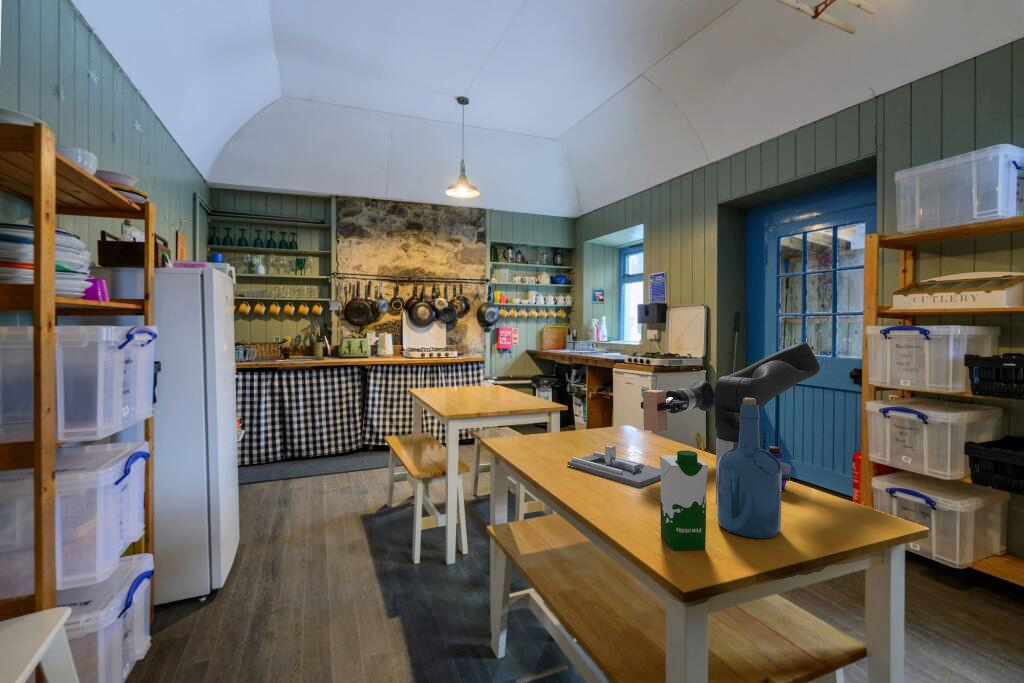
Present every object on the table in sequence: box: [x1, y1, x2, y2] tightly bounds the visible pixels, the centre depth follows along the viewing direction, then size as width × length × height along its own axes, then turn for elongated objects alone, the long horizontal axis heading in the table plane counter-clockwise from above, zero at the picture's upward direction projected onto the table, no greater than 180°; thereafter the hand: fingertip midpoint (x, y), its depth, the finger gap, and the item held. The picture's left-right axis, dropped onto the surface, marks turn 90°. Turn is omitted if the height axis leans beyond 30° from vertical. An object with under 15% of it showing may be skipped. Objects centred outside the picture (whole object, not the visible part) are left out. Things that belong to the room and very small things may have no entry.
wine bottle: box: [716, 398, 782, 539], centre depth 110 cm, size 14×13×30 cm
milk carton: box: [659, 450, 709, 551], centre depth 103 cm, size 9×9×20 cm
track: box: [567, 451, 661, 488], centre depth 154 cm, size 16×28×2 cm, turn 41°
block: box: [642, 389, 668, 433], centre depth 148 cm, size 5×5×12 cm
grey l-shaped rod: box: [604, 444, 643, 472], centre depth 152 cm, size 4×12×6 cm, turn 41°
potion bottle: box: [765, 445, 792, 490], centre depth 137 cm, size 9×9×12 cm
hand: (649, 406), depth 147 cm, fingers closed on block, 5 cm apart
